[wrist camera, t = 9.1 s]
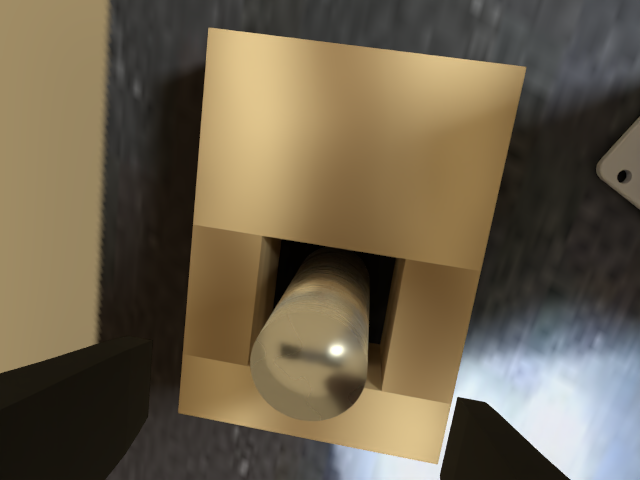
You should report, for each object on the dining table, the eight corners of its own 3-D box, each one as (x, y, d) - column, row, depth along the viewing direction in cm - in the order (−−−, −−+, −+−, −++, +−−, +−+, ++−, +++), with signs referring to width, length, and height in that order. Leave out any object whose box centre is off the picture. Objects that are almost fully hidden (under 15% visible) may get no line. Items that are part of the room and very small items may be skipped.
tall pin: (385, 276, 20) (392, 360, 12) (340, 329, 21) (320, 442, 13) (326, 231, 20) (294, 288, 12) (283, 287, 21) (228, 374, 13)
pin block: (493, 84, 18) (526, 67, 14) (425, 404, 21) (437, 464, 17) (243, 51, 19) (208, 27, 15) (213, 364, 22) (178, 412, 18)
